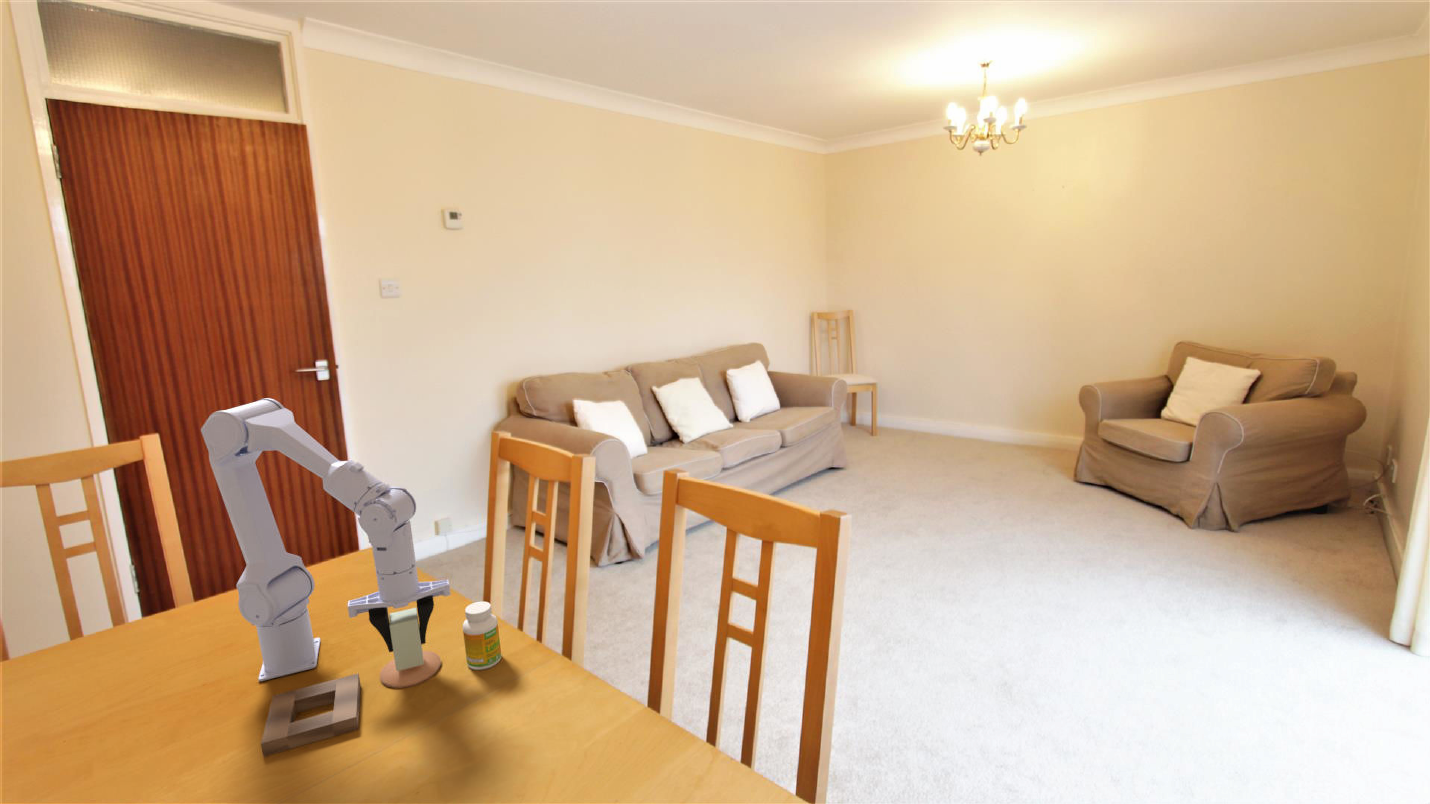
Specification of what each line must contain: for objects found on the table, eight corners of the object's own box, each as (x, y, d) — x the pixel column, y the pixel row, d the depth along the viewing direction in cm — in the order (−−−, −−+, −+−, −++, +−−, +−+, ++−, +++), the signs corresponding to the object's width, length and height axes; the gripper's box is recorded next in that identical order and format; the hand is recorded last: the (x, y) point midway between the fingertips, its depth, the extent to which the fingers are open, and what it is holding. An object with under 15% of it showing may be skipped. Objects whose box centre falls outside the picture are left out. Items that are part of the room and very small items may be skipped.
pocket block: (275, 707, 101) (273, 695, 101) (360, 684, 106) (358, 673, 106) (263, 756, 91) (260, 743, 91) (358, 729, 96) (356, 716, 95)
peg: (395, 658, 110) (389, 613, 108) (422, 651, 111) (416, 607, 110) (396, 671, 106) (389, 625, 104) (423, 664, 108) (417, 619, 106)
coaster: (380, 663, 111) (379, 660, 111) (438, 648, 115) (438, 645, 115) (380, 694, 103) (379, 691, 103) (443, 677, 107) (442, 674, 107)
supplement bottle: (490, 672, 108) (484, 617, 106) (460, 669, 109) (453, 614, 107) (507, 653, 113) (501, 600, 111) (478, 650, 114) (472, 597, 112)
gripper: (342, 588, 99) (355, 671, 102) (447, 566, 105) (457, 645, 108) (344, 569, 105) (357, 647, 108) (444, 549, 111) (453, 624, 114)
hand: (407, 644), depth 108 cm, fingers closed on peg, 4 cm apart
